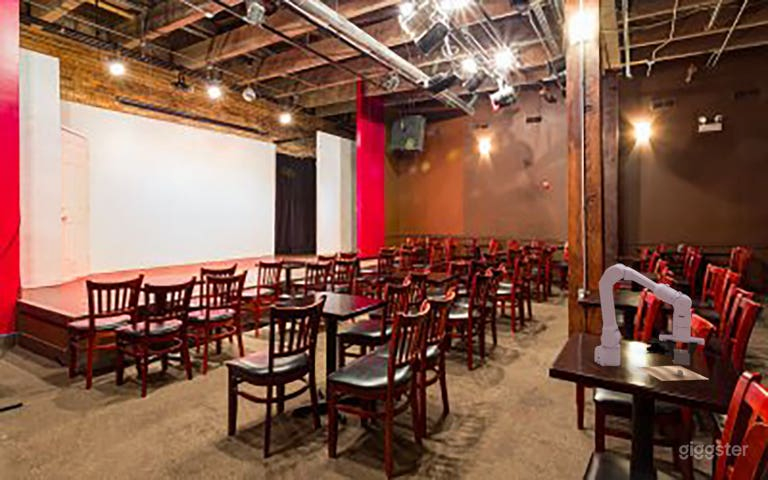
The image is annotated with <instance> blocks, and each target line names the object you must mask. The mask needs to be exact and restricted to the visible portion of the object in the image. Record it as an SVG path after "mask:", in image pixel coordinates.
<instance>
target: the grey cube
mask: <svg viewBox="0 0 768 480" xmlns="http://www.w3.org/2000/svg"><path fill="white" fill-rule="evenodd" d="M672 362H673V364H674V365H681V366H682V365H683V366H684V365H685V366H690V364H691V362H690V353H689V352H688V349H680V348H679V349H678V348H677V349H674V360H672Z"/></svg>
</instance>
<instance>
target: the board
mask: <svg viewBox="0 0 768 480" xmlns="http://www.w3.org/2000/svg"><path fill="white" fill-rule="evenodd" d="M636 368H637V369H638V370H641V371H643V372H644V373H647V374H649V375H650V376H652V377H654V378H657V379H658V380H660V381H662V382H663V381H666V382H667V381H668V382H669V381H671V382H672V381H692V380H693V381H694V380H695V381H697V380H709V378H707V377H705V376H703V375H701V374H698V373H696V372H694V371H692V370H691V369H687V368H685V367H683V366H682V365H663V366H662V365H660V366H636ZM677 369H678V370H682V371H683V378H682V377H678V375H677Z"/></svg>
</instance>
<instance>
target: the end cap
mask: <svg viewBox="0 0 768 480" xmlns="http://www.w3.org/2000/svg"><path fill="white" fill-rule="evenodd" d="M646 345H647V347H646V351H647V352H646V353H647V354H648V355H649V354H651V355H653V354H659V355H661V356H665V357H667V356H669V357H671V356H670V351H669V348H668V346H667V344H666V342H665V340H663V341H661V340H659V339H657V338H653V337H652V338H651V340H647V341H646ZM649 345H650V346H649ZM674 349H678V348H677V345H676V344H675V343H674Z"/></svg>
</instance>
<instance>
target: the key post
mask: <svg viewBox="0 0 768 480" xmlns="http://www.w3.org/2000/svg"><path fill="white" fill-rule="evenodd" d="M677 375H678V377H682V378H683V371H682V370H678V369H677Z"/></svg>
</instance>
